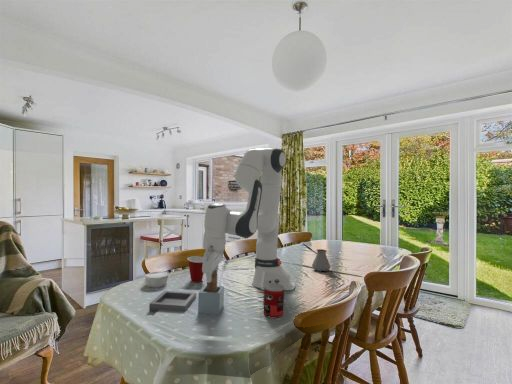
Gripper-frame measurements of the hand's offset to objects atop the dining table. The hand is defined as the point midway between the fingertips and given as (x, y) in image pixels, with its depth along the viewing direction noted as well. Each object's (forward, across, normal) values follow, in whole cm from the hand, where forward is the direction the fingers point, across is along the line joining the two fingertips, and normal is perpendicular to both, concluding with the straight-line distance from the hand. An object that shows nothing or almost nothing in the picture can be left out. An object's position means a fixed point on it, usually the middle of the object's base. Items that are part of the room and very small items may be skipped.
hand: (212, 278), depth 113 cm
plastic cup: (+15, +37, +16) cm, 43 cm away
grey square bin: (+14, 0, 0) cm, 14 cm away
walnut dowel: (+13, 0, 0) cm, 13 cm away
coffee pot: (+13, +74, -51) cm, 91 cm away
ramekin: (+15, +27, +34) cm, 46 cm away
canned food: (+13, +2, -26) cm, 29 cm away
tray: (+14, +4, +16) cm, 22 cm away
